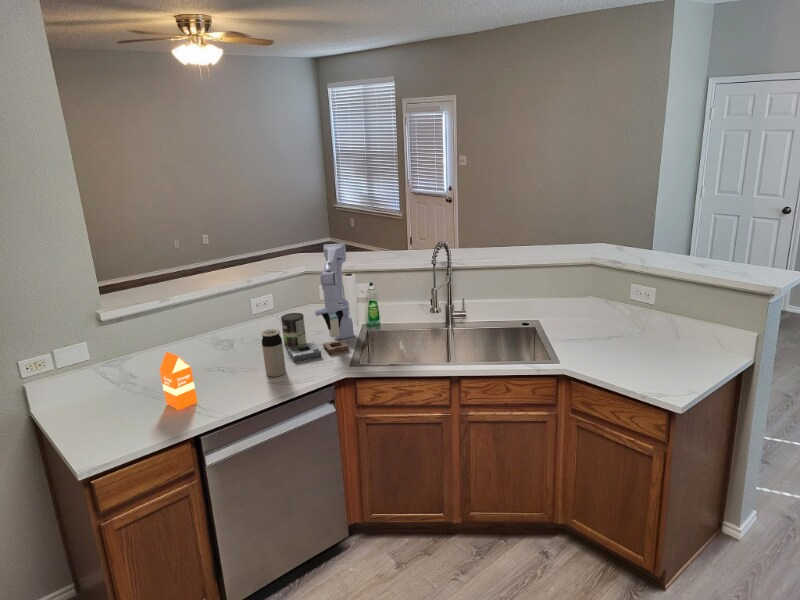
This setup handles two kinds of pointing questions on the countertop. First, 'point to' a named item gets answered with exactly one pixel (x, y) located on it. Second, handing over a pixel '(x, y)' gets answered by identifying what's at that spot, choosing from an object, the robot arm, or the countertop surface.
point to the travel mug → (273, 353)
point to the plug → (334, 326)
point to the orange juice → (177, 382)
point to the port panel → (304, 352)
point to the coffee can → (293, 329)
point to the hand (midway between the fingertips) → (333, 328)
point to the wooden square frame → (335, 347)
